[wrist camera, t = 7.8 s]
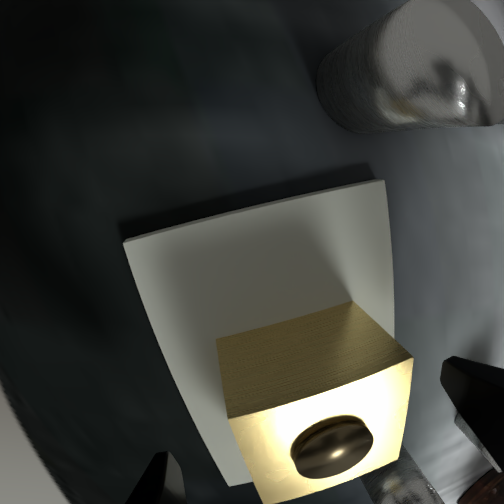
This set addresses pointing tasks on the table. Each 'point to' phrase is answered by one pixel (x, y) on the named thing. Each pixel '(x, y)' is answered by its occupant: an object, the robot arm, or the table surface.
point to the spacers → (416, 126)
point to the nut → (315, 399)
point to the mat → (258, 285)
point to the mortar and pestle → (486, 490)
